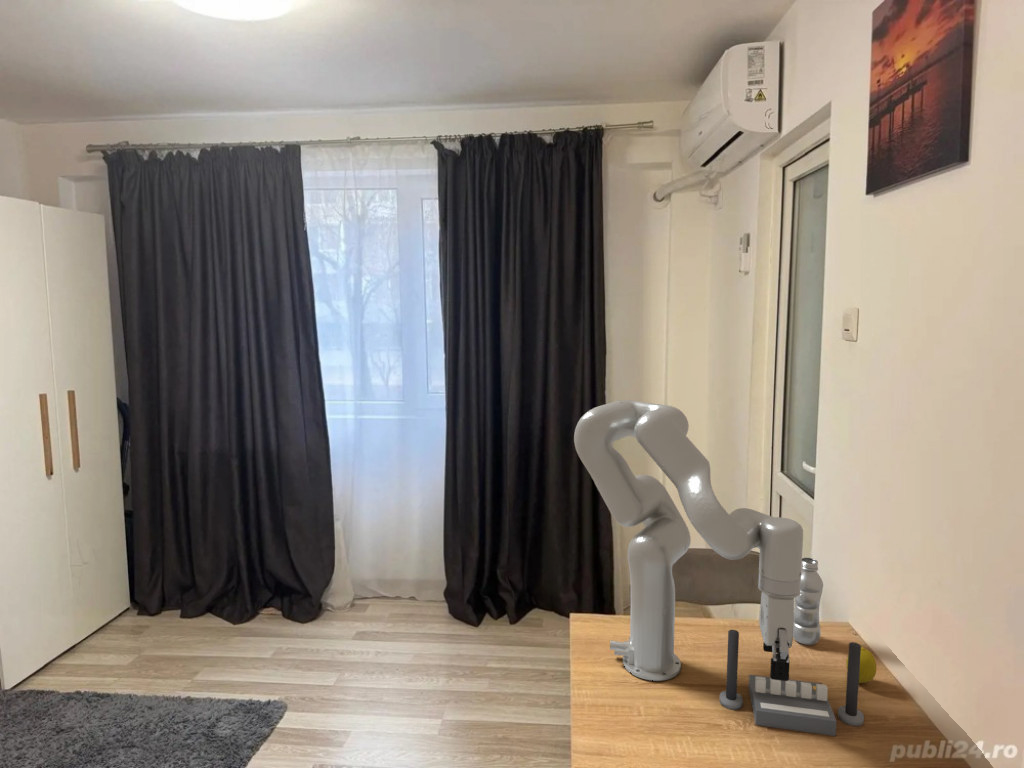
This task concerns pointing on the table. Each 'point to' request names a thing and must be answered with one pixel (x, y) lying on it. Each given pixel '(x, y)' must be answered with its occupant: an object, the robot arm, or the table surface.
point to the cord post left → (732, 675)
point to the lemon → (866, 666)
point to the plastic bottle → (808, 604)
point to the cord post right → (852, 689)
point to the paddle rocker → (791, 689)
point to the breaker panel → (792, 710)
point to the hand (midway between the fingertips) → (775, 664)
